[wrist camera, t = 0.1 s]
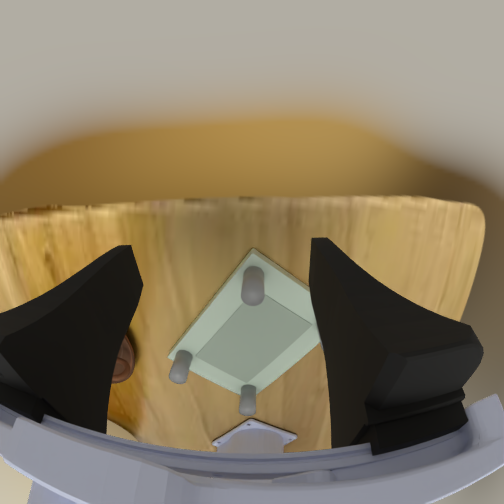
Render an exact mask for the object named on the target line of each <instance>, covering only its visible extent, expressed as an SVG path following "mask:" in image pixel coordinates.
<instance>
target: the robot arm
mask: <svg viewBox="0 0 504 504" xmlns="http://www.w3.org/2000/svg"><path fill="white" fill-rule="evenodd" d="M142 288H143V282H142V279H141V276H140V273H139V270H138V266H137V263H136V260H135V257H134V254H133V250H132V247H131V245H121V246H117V247H115V248H113V249H111V250H110V251H108V252H106V253H105V254H103V255H102V256H100V257H99V258H97V259H96V260H95V261H93V262H92V263H90V264H89V265H87V266H86V267H85V268H83V269H82V270H80V271H79V272H77V273H76V274H74V275H73V276H71V277H70V278H68V279H67V280H66V281H64V282H63V283H61V284H59V285H58V286H56V287H55V288H53V289H51V290H49V291H48V292H46V293H44V294H43V295H41V296H39V297H37V298H35V299H33V300H31V301H29V302H27V303H25V304H23V305H20V306H18V307H16V308H13V309H11V310H8V311H6V312H3V313H0V456H2V457H3V459H4V461H5V463H6V464H8V465H9V466H11V467H12V468H13V469H15V470H17V471H18V472H20V473H21V474H23V475H25V476H26V477H28V478H30V479H31V480H33V483H32V487H31V491H30V494H29V499H28V503H27V504H431V503H433V502H435V501H438V500H440V499H442V498H445V497H447V496H449V495H451V494H453V493H455V492H458V491H460V490H462V489H464V488H466V487H467V486H469V485H471V484H473V483H475V482H477V481H478V480H480V479H482V478H484V477H486V476H487V475H489V474H491V473H492V472H494V471H496V470H497V469H499V468H500V467H502V466H504V410H503V407H502V405H501V403H500V400H499V398H498V396H497V394H493V395H491V396H489V397H486V398H484V399H481V400H479V401H477V402H475V403H472V404H470V405H469V406H467V407H466V408H465V409H464V407H463V405H462V402H461V401H462V400H463V399H464V398H465V394H464V391H463V389H462V387H463V385H464V384H465V383H466V382H467V380H468V379H469V378H470V377H471V376H472V374H473V373H474V372H475V370H476V369H477V367H478V366H479V364H480V363H481V359H482V356H483V353H484V352H483V347H482V345H481V343H480V342H479V340H478V338H477V336H476V334H475V333H474V331H473V330H472V328H471V326H470V325H467V324H464V323H461V322H458V321H455V320H452V319H449V318H446V317H444V316H441V315H439V314H437V313H434V312H432V311H430V310H427V309H425V308H423V307H421V306H419V305H417V304H415V303H413V302H411V301H410V300H408V299H406V298H404V297H402V296H401V295H399V294H397V293H396V292H394V291H392V290H391V289H389V288H388V287H386V286H385V285H383V284H382V283H380V282H379V281H378V280H376V279H375V278H373V277H372V276H371V275H370V274H368V273H367V272H366V271H365V270H363V269H362V268H361V267H360V266H358V265H357V264H356V263H355V262H354V261H353V260H351V259H350V258H349V257H348V256H347V255H346V254H345V253H344V252H343V251H342V250H340V249H339V248H338V247H337V246H336V245H335V244H334V243H333V242H332V241H331V240H330V239H328V238H311V255H310V269H309V288H310V296H311V303H312V307H313V311H314V315H315V318H316V322H317V326H318V330H319V334H320V338H321V342H322V346H323V350H324V355H325V361H326V370H327V378H328V389H329V400H330V416H331V445H332V449H325V450H316V451H305V452H291V453H284V445H286V444H287V443H289V442H291V441H293V440H295V439H296V438H297V435H295V434H292V433H289V432H287V431H284V430H281V429H278V428H275V427H272V426H270V425H267V424H264V423H262V422H259V421H256V420H254V419H249V420H247V421H245V422H244V423H242V424H241V425H239V426H238V427H236V428H234V429H233V430H231V431H230V432H228V433H226V434H225V435H223V436H221V437H220V438H218V439H216V440H215V441H213V442H212V445H214V446H216V447H217V452H207V451H196V450H186V449H178V448H171V447H164V446H158V445H152V444H147V443H142V442H136V441H132V440H127V439H123V438H119V437H115V436H111V435H107V434H106V431H107V430H106V429H107V412H108V403H109V395H110V388H111V383H112V378H113V373H114V369H115V364H116V360H117V356H118V353H119V350H120V347H121V345H122V342H123V340H124V337H125V335H126V332H127V330H128V327H129V325H130V323H131V320H132V318H133V316H134V313H135V311H136V308H137V306H138V303H139V299H140V296H141V292H142ZM208 477H209V478H208Z"/></svg>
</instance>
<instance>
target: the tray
mask: <svg viewBox="0 0 504 504" xmlns="http://www.w3.org/2000/svg"><path fill="white" fill-rule="evenodd" d="M319 342H320V343H321V347H322V350H323V346H322V342H321V338H320V334H319V330H318V326H317V322H316V318H315V315H314V311H313V307H312V303H311V296H310V288H309V287H308V286H307V285H306V284H304V283H303V282H301V281H300V280H298V279H297V278H296V277H294V276H293V275H291V274H290V273H288V272H287V271H286V270H284V269H283V268H281V267H280V266H278V265H277V264H276V263H274V262H273V261H271V260H270V259H268V258H267V257H266V256H264V255H263V254H261V253H260V252H258V251H257V250H256V249H254V248H252V249H251V251H250V252H249V253H248V254H247V256H246V257H245V258H244V259H243V261H242V262H241V263H240V264H239V266H238V267H237V268H236V269H235V270H234V272H233V273H232V274H231V275H230V277H229V278H228V279H227V280H226V282H225V283H224V284H223V285H222V287H221V288H220V289H219V290H218V292H217V293H216V294H215V295H214V297H213V298H212V299H211V300H210V302H209V303H208V304H207V305H206V306H205V308H204V309H203V310H202V311H201V313H200V314H199V315H198V316H197V318H196V319H195V320H194V321H193V323H192V324H191V325H190V326H189V328H188V329H187V330H186V331H185V333H184V334H183V335H182V336H181V338H180V339H179V340H178V341H177V343H176V344H175V345H174V346H173V347H172V349H171V350H170V352H169V354H168V357H167V358H169V359H171V360H173V361H174V362H173V365H172V368H171V370H170V373H169V378H170V380H171V381H172V382H174V383H177V384H183V383H185V382H186V379H187V376H188V372H189V370H191V371H192V372H194V373H196V374H198V375H200V376H202V377H204V378H206V379H208V380H210V381H212V382H213V383H215V384H218V385H220V386H222V387H224V388H226V389H228V390H230V391H232V392H234V393H236V394H238V395H240V405H239V413H240V414H242V415H244V416H251V415H254V414H255V413H256V395H257V394H258V393H259V392H260V391H262V390H263V389H264V388H266V387H267V386H268V385H269V384H271V383H272V382H273V381H275V380H276V379H277V378H278V377H280V376H281V375H282V374H283V373H284V372H286V371H287V370H288V369H289V368H290V367H292V366H293V365H294V364H295V363H296V362H298V361H299V360H300V359H301V358H302V357H303V356H305V355H306V354H307V353H308V352H309V351H310V350H312V349H313V348H314V347H315V346H316V345H317V344H318V343H319ZM323 351H324V350H323Z"/></svg>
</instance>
